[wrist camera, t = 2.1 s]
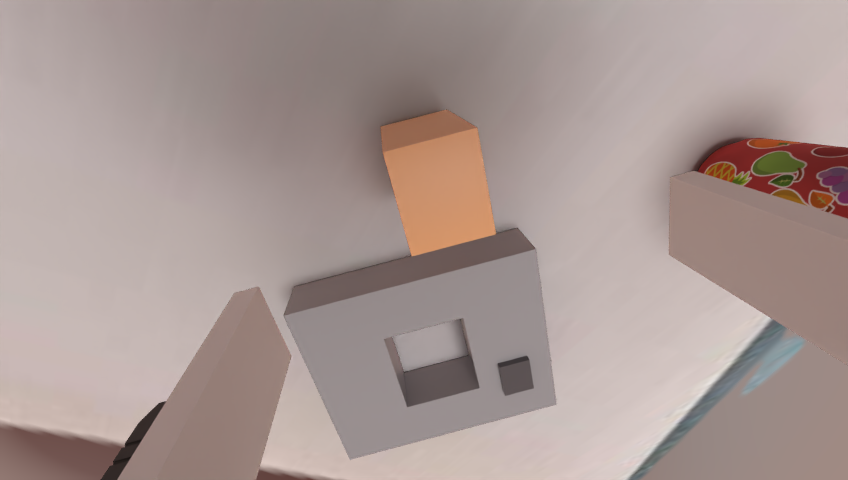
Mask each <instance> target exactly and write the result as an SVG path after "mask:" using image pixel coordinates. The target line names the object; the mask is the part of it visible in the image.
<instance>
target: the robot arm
mask: <svg viewBox="0 0 848 480" xmlns="http://www.w3.org/2000/svg"><path fill="white" fill-rule="evenodd" d="M669 255H670V256H672V257H674V258H675V259H677V260H678V261H680V262H682V263H683V264H685V265H686V266H688V267H690V268H691V269H693V270H694V271H696V272H698V273H699V274H701V275H703V276H704V277H706V278H707V279H709V280H711V281H712V282H714V283H715V284H717V285H719V286H720V287H722V288H723V289H725V290H727V291H728V292H730V293H732V294H733V295H735V296H736V297H738V298H740V299H741V300H743V301H744V302H746V303H748V304H749V305H751V306H752V307H754V308H756V309H757V310H759V311H761V312H762V313H764V314H765V315H767V316H769V317H770V318H772V319H773V320H775V321H777V322H778V323H780V324H781V325H783V326H785V327H786V328H788V329H790V330H791V331H793V332H794V333H796V334H798V335H799V336H801V337H802V338H804V339H806V340H807V341H809V342H811V343H812V344H814V345H815V346H817V347H819V348H820V349H822V350H824V351H825V352H827V353H828V354H830V355H831V356H833V357H835V358H836V359H838V360H840V361H841V362H843V363H844V364H846V365H848V219H847V218H844V217H841V216H838V215H835V214H831V213H828V212H825V211H822V210H818V209H815V208H812V207H809V206H806V205H802V204H799V203H796V202H793V201H790V200H786V199H783V198H780V197H777V196H773V195H770V194H767V193H764V192H761V191H757V190H754V189H751V188H748V187H744V186H741V185H738V184H735V183H732V182H728V181H725V180H722V179H719V178H715V177H712V176H709V175H706V174H703V173H699V172H696V171H691V172H687V173H684V174H680V175H676V176H672V177H670V216H669ZM290 359H291V354H290V352H289V350H288V348H287V346H286V343H285V341H284V339H283V337H282V335H281V333H280V331H279V329H278V326H277V324H276V322H275V320H274V318H273V316H272V314H271V312H270V309H269V307H268V305H267V303H266V301H265V299H264V297H263V295H262V292H261V290H260V288H259V287H255V288H251V289H248V290H244V291H240V292H236V293H234V294H233V296H232V298H231V299H230V301H229V302H228V304H227V306H226V307H225V309H224V310H223V312H222V314H221V315H220V317H219V318H218V320H217V321H216V323H215V325H214V326H213V328H212V329H211V331H210V333H209V334H208V336H207V337H206V339H205V341H204V342H203V344H202V345H201V347H200V349H199V350H198V352H197V353H196V355H195V357H194V358H193V360H192V361H191V363H190V364H189V366H188V368H187V369H186V371H185V372H184V374H183V376H182V377H181V379H180V380H179V382H178V384H177V385H176V387H175V388H174V390H173V392H172V393H171V395H170V396H169V398H168V400H167V401H165V402H161V403H159V404H158V405H157V406H156V407H155V408H153V409H152V410H151V411H150V412H149V413H148V414H147V415H146V416H145V417H144V418H143V419H142V420H141V421H140V422H139V423H138V425H137V426H136V428H135V429H134V431H133V432H132V434H131V435H130V437H129V438H128V440H127V441H126V443H125V447H124V448H122V449H121V450H120V452H119V453H118V455H117V456H116V458H115V459H114V461H113V465H112V466H110V467H109V468H108V470H107V471H106V473H105V474H104V476H103V477H102V479H101V480H256V477H257V474H258V470H259V467H260V463H261V460H262V457H263V453H264V450H265V446H266V443H267V439H268V436H269V432H270V429H271V425H272V422H273V418H274V415H275V411H276V408H277V404H278V401H279V398H280V394H281V391H282V387H283V384H284V380H285V377H286V373H287V370H288V366H289V363H290Z"/></svg>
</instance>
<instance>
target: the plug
mask: <svg viewBox="0 0 848 480" xmlns="http://www.w3.org/2000/svg"><path fill="white" fill-rule="evenodd" d="M381 139H382V150H383V155H384V159H385V163H386V166H387V170H388V173H389V177H390V180H391V184H392V188H393V191H394V195H395V198H396V202H397V206H398V209H399V213H400V216H401V220H402V223H403V227H404V231H405V234H406V238H407V241H408V245H409V249H410V252H411V256H416V255H420V254H423V253H427V252H431V251H435V250H439V249H442V248H446V247H450V246H454V245H458V244H461V243H465V242H469V241H473V240H477V239H480V238H484V237H488V236H492V235H496V231H495V226H494V220H493V214H492V208H491V203H490V197H489V191H488V186H487V180H486V174H485V169H484V163H483V157H482V151H481V146H480V140H479V134H478V129H477V127H475V126H474V125H472V124H470V123H469V122H467V121H465V120H464V119H462V118H460V117H459V116H457V115H455V114H454V113H452V112H450V111H448V110H447V109H446V110H443V111H439V112H435V113H431V114H427V115H423V116H420V117H416V118H412V119H408V120H404V121H400V122H396V123H393V124H389V125H385V126H381Z"/></svg>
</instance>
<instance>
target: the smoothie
mask: <svg viewBox="0 0 848 480" xmlns="http://www.w3.org/2000/svg"><path fill="white" fill-rule="evenodd" d="M698 172H699V173H703V174H706V175H709V176H712V177H715V178H719V179H722V180H725V181H728V182H732V183H735V184H738V185H741V186H744V187H748V188H751V189H754V190H757V191H761V192H764V193H767V194H770V195H773V196H777V197H780V198H783V199H786V200H790V201H793V202H796V203H799V204H802V205H806V206H809V207H812V208H815V209H818V210H822V211H825V212H828V213H831V214H835V215H838V216H841V217H844V218H847V219H848V148H845V147H836V146H827V145H818V144H809V143H800V142H791V141H782V140H773V139H764V138H751V139H745V140H742V141H739V142H737V143H732V144H729V145H726V146H724V147H721V148H719V149H718V150H717V151H715V152H714V153H712V154H711V155H710V156H709V157H708V158H707V159H706V160H705V161H704V162H703V164H702V165H701V166H700V168H699V170H698Z"/></svg>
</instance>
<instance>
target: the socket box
mask: <svg viewBox="0 0 848 480" xmlns="http://www.w3.org/2000/svg"><path fill="white" fill-rule="evenodd" d="M284 318H285V320H286V322H287V324H288V327H289V329H290V331H291V333H292V335H293V337H294V340H295V342H296V344H297V346H298V348H299V350H300V353H301V355H302V357H303V359H304V361H305V363H306V366H307V368H308V370H309V372H310V374H311V376H312V379H313V381H314V383H315V385H316V387H317V389H318V392H319V394H320V396H321V398H322V400H323V402H324V405H325V407H326V409H327V411H328V413H329V415H330V418H331V420H332V422H333V424H334V426H335V428H336V431H337V433H338V435H339V437H340V439H341V441H342V444H343V446H344V448H345V450H346V452H347V454H348V457H349V459H350V460H351V459H355V458H358V457H362V456H366V455H370V454H373V453H377V452H381V451H385V450H388V449H392V448H396V447H399V446H403V445H407V444H411V443H414V442H418V441H422V440H426V439H429V438H433V437H437V436H441V435H444V434H448V433H452V432H456V431H459V430H463V429H467V428H471V427H474V426H478V425H482V424H486V423H489V422H493V421H497V420H501V419H504V418H508V417H512V416H516V415H519V414H523V413H527V412H531V411H534V410H538V409H542V408H546V407H549V406H553V405H557V404H556V396H555V389H554V381H553V373H552V366H551V358H550V351H549V343H548V335H547V328H546V320H545V313H544V305H543V297H542V290H541V282H540V275H539V267H538V259H537V252H536V248H535V247H534V246H533V245H532V244H531V243H530V242H529V240H528V239H527V238H526V237H525V236H524V235H523V234H522V233H521V231H520V230H519V229H518V228H515V229H511V230H508V231H504V232H500V233H496V235H492V236H488V237H484V238H480V239H477V240H473V241H469V242H465V243H461V244H458V245H454V246H450V247H446V248H442V249H439V250H435V251H431V252H427V253H423V254H420V255H416V256H409V257H405V258H401V259H398V260H394V261H390V262H386V263H382V264H379V265H375V266H371V267H367V268H363V269H360V270H356V271H352V272H348V273H344V274H341V275H337V276H333V277H329V278H325V279H322V280H318V281H314V282H310V283H306V284H303V285H299V286H295V287H294V289H293V291H292V294H291V297H290V300H289V302H288V305H287V308H286V310H285V313H284ZM457 319H460V320H461V324H462V328H463V332H464V336H465V340H466V345H467V349H468V353H469V356H465V357H461V358H457V359H454V360H450V361H446V362H442V363H439V364H435V365H431V366H427V367H423V368H420V369H416V370H412V371H408V372H405V373H404V371H403V368H402V365H401V362H400V359H399V356H398V353H397V350H396V347H395V344H394V341H393V338H392V337H393V336H397V335H401V334H404V333H408V332H412V331H416V330H419V329H423V328H427V327H431V326H435V325H438V324H442V323H446V322H450V321H453V320H457Z"/></svg>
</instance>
